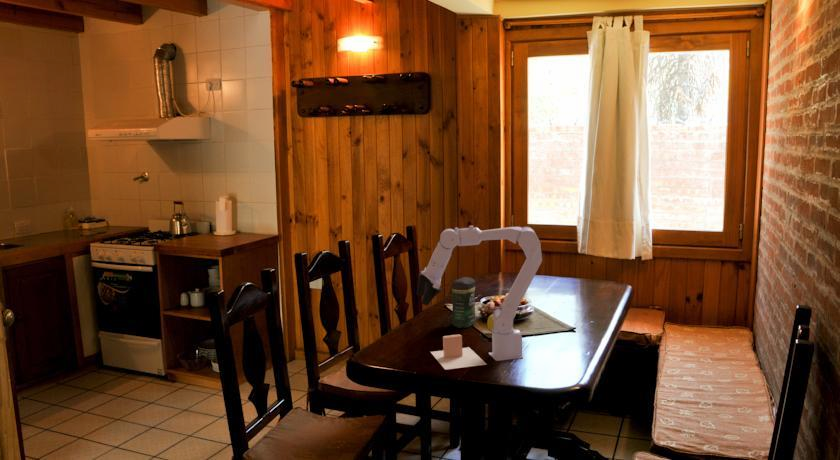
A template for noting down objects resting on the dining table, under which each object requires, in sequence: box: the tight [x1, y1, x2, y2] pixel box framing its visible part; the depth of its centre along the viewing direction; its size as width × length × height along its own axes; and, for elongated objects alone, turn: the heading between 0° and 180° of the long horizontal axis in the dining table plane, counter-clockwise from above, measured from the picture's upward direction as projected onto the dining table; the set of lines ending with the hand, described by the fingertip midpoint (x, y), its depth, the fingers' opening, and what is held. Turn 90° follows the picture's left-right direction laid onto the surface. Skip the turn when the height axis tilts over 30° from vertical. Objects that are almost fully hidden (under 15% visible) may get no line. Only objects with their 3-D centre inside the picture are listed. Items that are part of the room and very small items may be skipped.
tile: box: [442, 334, 463, 358], centre depth 224 cm, size 6×2×7 cm, turn 104°
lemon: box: [486, 313, 494, 333], centre depth 247 cm, size 6×6×8 cm
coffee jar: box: [451, 276, 477, 329], centre depth 259 cm, size 10×8×19 cm
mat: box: [430, 346, 488, 371], centre depth 223 cm, size 14×18×1 cm
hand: (421, 300), depth 223 cm, fingers open, 7 cm apart
